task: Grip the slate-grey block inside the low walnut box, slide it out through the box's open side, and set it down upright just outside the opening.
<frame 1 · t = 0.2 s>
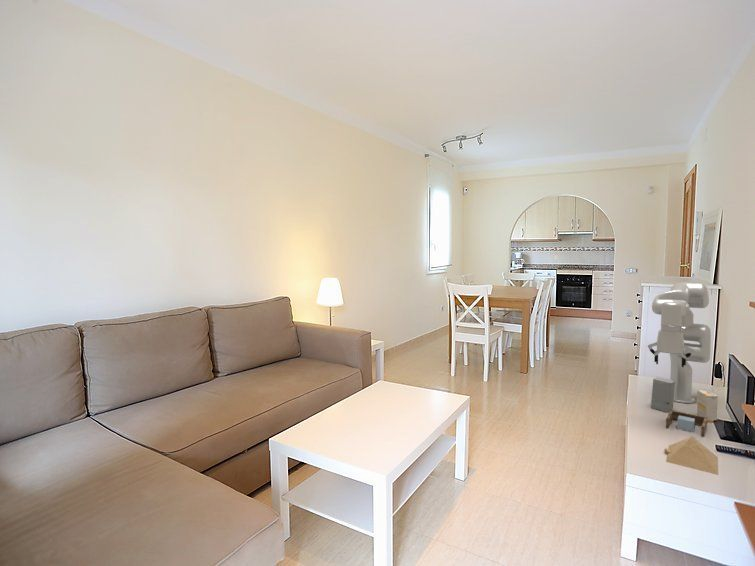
hand: (669, 365, 187), 30 cm above the table, tool pointing down, fingers open, 9 cm apart
grey block: (686, 423, 188), in the walnut open-sided box
walnut open-sided box: (685, 428, 188), on the table
skincare box: (662, 409, 211), on the table
model pyramid: (690, 460, 162), on the table
supplement box: (706, 419, 198), on the table
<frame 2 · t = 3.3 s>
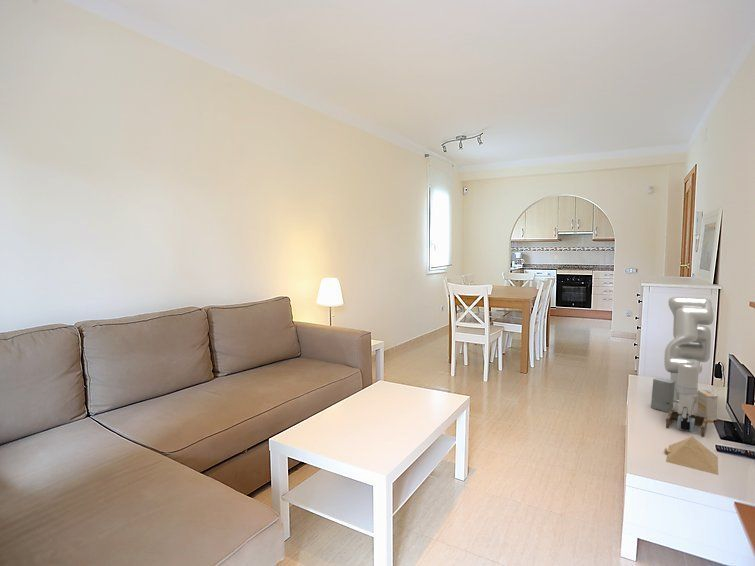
hand: (685, 427, 188), 1 cm above the table, tool pointing down, fingers closed on grey block, 4 cm apart
grey block: (686, 423, 188), in the walnut open-sided box, touching gripper
everything else where it was.
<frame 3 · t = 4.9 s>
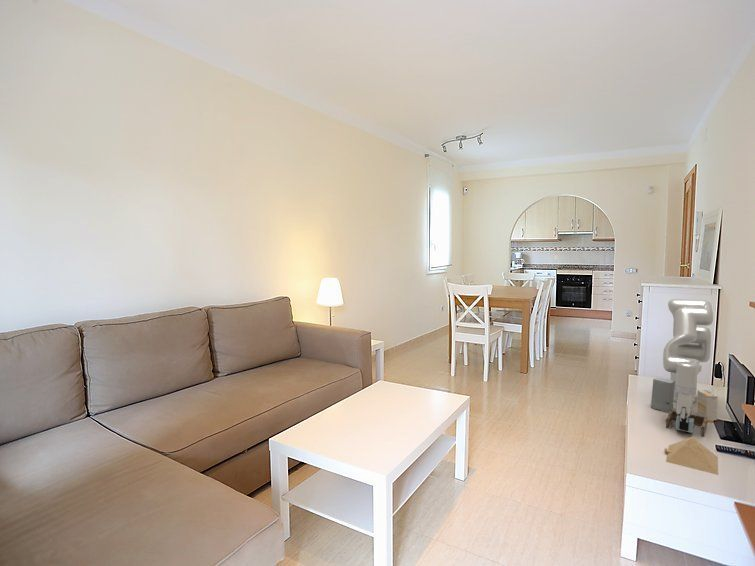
hand: (684, 427, 184), 2 cm above the table, tool pointing down, fingers closed on grey block, 4 cm apart
grey block: (684, 423, 184), point 4 cm above the table, touching gripper
everything else where it was.
when the fingers open (1 cm above the table, at t = 6.5 s): grey block stays where it is, on the table.
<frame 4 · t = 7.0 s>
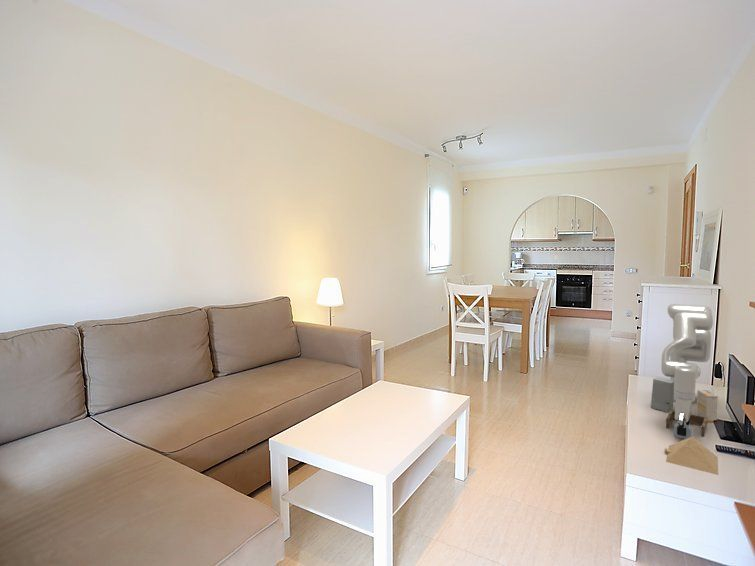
hand: (683, 431, 181), 2 cm above the table, tool pointing down, fingers open, 9 cm apart
grey block: (683, 431, 181), on the table
everything else where it was.
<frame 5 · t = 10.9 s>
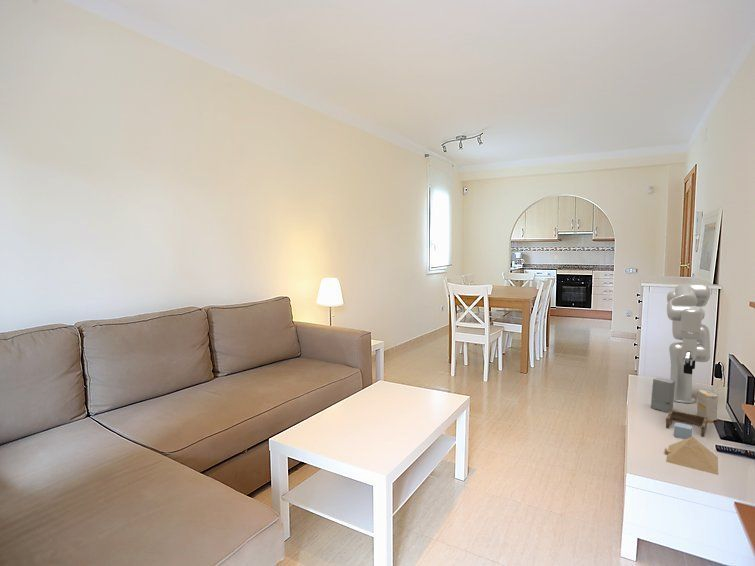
hand: (689, 370, 189), 26 cm above the table, tool pointing down, fingers open, 9 cm apart
nothing on the table moved.
at the end: grey block inside the target area (0.5 cm from its centre), on the table; grey block tilted 0°; the gripper is holding nothing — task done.
